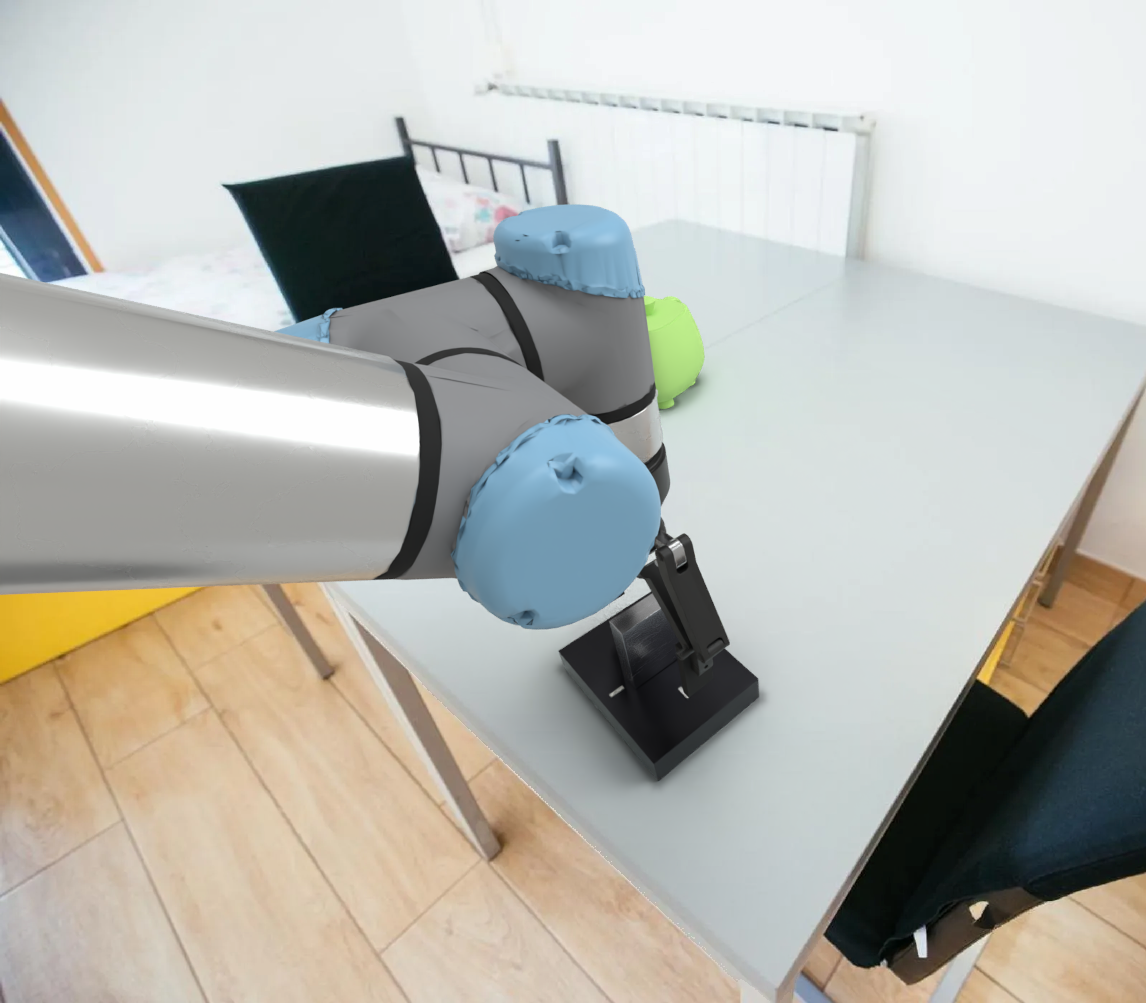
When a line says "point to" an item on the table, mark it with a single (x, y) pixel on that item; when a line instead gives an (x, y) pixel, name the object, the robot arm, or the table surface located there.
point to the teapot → (673, 347)
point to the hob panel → (657, 699)
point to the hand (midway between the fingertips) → (651, 639)
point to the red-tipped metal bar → (643, 641)
